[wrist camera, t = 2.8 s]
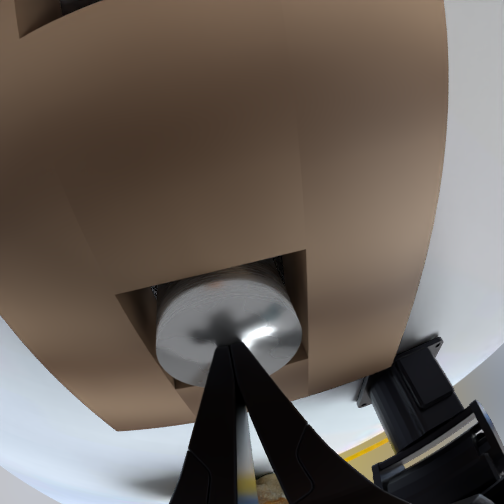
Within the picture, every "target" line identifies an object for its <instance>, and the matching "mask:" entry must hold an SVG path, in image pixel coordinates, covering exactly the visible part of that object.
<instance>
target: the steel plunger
mask: <svg viewBox="0 0 504 504" xmlns="http://www.w3.org/2000/svg"><path fill="white" fill-rule="evenodd" d="M301 340H302V328H301V325H300V322H299V320H298V318H297V315H296V313H295V310H294V308H293V306H292V303H291V301H290V298H289V296H288V294H287V291H286V289H285V287H284V284H283V282H282V280H281V277H280V275H279V272H278V270H277V268H276V265H275V263H274V261H273V258H268V259H263V260H259V261H255V262H251V263H247V264H243V265H239V266H235V267H230V268H226V269H222V270H218V271H214V272H209V273H205V274H201V275H197V276H193V277H188V278H184V279H180V280H176V281H171V282H167V283H163V284H159V285H157V311H156V355H157V358H158V361H159V363H160V365H161V366H162V367H163V369H164V370H165V371H166V372H167V373H168V374H169V375H171V376H172V377H174V378H175V379H177V380H179V381H181V382H184V383H187V384H190V385H194V386H198V387H205V384H206V380H207V376H208V373H209V369H210V365H211V362H212V358H213V355H214V351H215V349H216V347H219V346H223V345H229V346H230V345H231V344H232V343H236V342H241V341H242V342H244V343H245V344H246V346H247V347H248V348H249V350H250V351H251V352H252V354H253V355H254V356H255V358H256V359H257V360H258V361H259V363H260V364H261V365H262V367H263V368H264V369H265V370H266V372H267V373H268V374H269V375H271V374H273V373H274V372H276V371H278V370H279V369H280V368H282V367H283V366H284V365H285V364H287V363H288V362H289V361H290V360H291V358H292V357H293V356H294V355H295V353H296V352H297V350H298V348H299V346H300V343H301Z"/></svg>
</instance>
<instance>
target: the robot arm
mask: <svg viewBox="0 0 504 504" xmlns="http://www.w3.org/2000/svg"><path fill="white" fill-rule="evenodd" d="M442 344H443V340H442V339H441V337H437V338H435V339H433V340H431V341H429V342H427V343H424V344H422V345H420V346H418V347H416V348H413V349H411V350H409V351H406V352H404V353H402V354H399V355H397V356H395V358H394V360H393V363H392V365H391V367H389V368H386V369H384V370H381V371H379V372H376V373H374V374H371V375H369V376H366V377H365V379H364V382H363V385H362V388H361V391H360V394H359V397H358V400H357V406H358V408H362V407H365V406H367V405H370V404H372V405H373V407H374V409H375V411H376V413H377V416H378V418H379V420H380V422H381V424H382V426H383V429H384V431H385V433H386V435H387V437H388V440H389V442H390V444H391V446H392V449H393V451H394V453H395V455H394V456H392V457H390V458H389V459H387V460H385V461H383V462H380V463H377V464H375V465H373V466H372V472H373V480H374V483H372V482H371V481H370V480H368V479H367V478H366V477H364V476H363V475H362V474H361V473H359V472H358V471H357V470H356V469H354V468H353V467H352V466H351V465H350V464H348V463H347V462H346V461H345V460H344V459H342V458H341V457H340V456H339V455H338V454H337V453H336V452H335V451H334V450H333V449H331V448H330V447H329V446H328V445H327V444H326V443H325V441H324V440H323V439H322V438H321V437H320V436H319V435H318V434H317V433H316V432H315V430H314V429H313V428H312V427H311V426H310V425H309V424H308V422H307V421H306V420H305V419H304V418H303V416H302V415H301V414H300V413H299V412H298V410H297V409H296V408H295V407H294V405H293V404H292V403H291V402H290V401H289V399H288V398H287V397H286V396H285V394H284V393H283V392H282V391H281V389H280V388H279V387H278V386H277V384H276V383H275V382H274V381H273V379H272V378H271V377H270V376H269V374H268V373H267V372H266V370H265V369H264V368H263V367H262V365H261V364H260V363H259V361H258V360H257V359H256V358H255V356H254V355H253V354H252V352H251V351H250V350H249V348H248V347H247V346H246V344H245V343H244V342H242V341H241V342H236V343H232V344H231V345H230V346H229V345H223V346H219V347H216V349H215V351H214V355H213V358H212V362H211V365H210V369H209V373H208V376H207V380H206V384H205V387H204V391H203V395H202V398H201V402H200V406H199V409H198V413H197V417H196V420H195V424H194V428H193V431H192V435H191V439H190V443H189V446H188V449H189V450H188V451H187V453H186V457H185V461H184V464H183V468H182V471H181V474H180V477H179V480H178V483H177V485H176V488H175V490H174V493H173V495H172V498H171V500H170V502H169V504H259V503H258V496H257V488H256V480H255V473H254V465H253V457H252V449H251V441H250V433H249V424H248V416H247V410H248V412H249V415H250V417H251V420H252V422H253V424H254V427H255V429H256V432H257V434H258V436H259V439H260V441H261V443H262V446H263V448H264V450H265V453H266V455H267V457H268V460H269V462H270V464H271V466H272V469H273V471H274V473H275V475H276V477H277V480H278V482H279V484H280V486H281V488H282V490H283V493H284V495H285V497H286V499H287V501H288V503H289V504H504V446H503V444H502V442H501V440H500V438H499V435H498V433H497V431H496V429H495V427H494V425H493V423H492V421H491V419H490V418H489V416H488V414H487V413H486V411H485V409H484V407H483V406H482V404H481V403H480V402H478V401H477V400H474V401H473V402H472V403H471V404H469V405H470V406H468V407H467V408H466V409H464V407H463V406H462V404H461V402H460V400H459V399H458V397H457V395H456V393H455V392H454V388H453V386H452V384H451V383H450V381H449V379H448V378H447V376H446V375H445V373H444V371H443V370H442V368H441V367H440V365H439V363H438V362H437V360H436V359H435V357H436V355H437V353H438V351H439V350H440V348H441V346H442ZM246 407H247V409H246ZM474 418H477V420H478V422H477V423H476V424H475V425H474V426H472V427H471V428H469V429H468V430H467V431H465V432H464V433H463V434H461V435H460V436H458V437H457V438H455V439H454V440H452V441H451V442H450V443H448V444H446V445H445V446H443V447H442V448H440V449H439V450H437V451H435V452H434V453H432V454H431V455H429V456H427V457H426V458H424V459H422V460H421V461H419V462H417V463H415V464H414V465H412V466H410V467H408V468H406V469H405V467H404V466H403V464H405V463H407V462H409V461H411V460H412V459H414V458H416V457H418V456H419V455H421V454H423V453H424V452H426V451H427V450H429V449H431V448H433V447H434V446H436V445H437V444H439V443H440V442H442V441H443V440H445V439H446V438H448V437H449V436H451V435H452V434H454V433H455V432H457V431H458V430H459V429H461V428H462V427H464V426H465V425H466V424H468V423H469V422H470V421H472V420H473V419H474Z"/></svg>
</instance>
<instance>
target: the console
mask: <svg viewBox="0 0 504 504" xmlns="http://www.w3.org/2000/svg"><path fill="white" fill-rule="evenodd" d="M447 114H448V44H447V29H446V18H445V9H444V1H443V0H102V1H99V2H97V3H94V4H91V5H89V6H86V7H84V8H81V9H79V10H77V11H74V12H72V13H70V14H67V15H65V16H62V9H61V3H60V0H0V315H1V317H2V318H3V319H4V320H5V322H6V323H7V324H8V325H9V327H10V328H11V329H12V330H13V332H14V333H15V334H16V335H17V336H18V338H19V339H20V340H21V341H22V342H23V343H24V345H25V346H26V347H27V348H28V349H29V350H30V351H31V352H32V354H33V355H34V356H35V357H36V358H37V359H38V360H39V361H40V362H41V363H42V364H43V365H44V366H45V367H46V369H47V370H48V371H49V372H50V373H51V374H52V375H53V376H54V377H55V378H56V379H57V380H58V381H59V382H60V383H61V384H63V385H64V386H65V387H66V388H67V389H68V390H69V391H70V392H71V393H72V394H73V395H74V396H75V397H76V398H78V399H79V400H80V401H81V402H82V403H83V404H84V405H85V406H87V407H88V408H89V409H90V410H91V411H92V412H94V413H95V414H96V415H97V416H98V417H100V418H101V419H102V420H103V421H104V422H106V423H107V424H108V425H109V426H111V427H112V428H113V429H115V430H116V431H130V430H141V429H151V428H159V427H167V426H175V425H182V424H189V423H195V420H196V417H197V413H198V409H199V406H200V402H201V398H202V395H203V391H204V387H198V386H194V385H190V384H187V383H184V382H181V381H179V380H177V379H175V378H174V377H172V376H171V375H169V374H168V373H167V372H166V371H165V370H164V369H163V367H162V366H161V365H160V363H159V361H158V358H157V355H156V311H157V300H156V298H155V296H154V294H153V292H152V290H151V288H150V286H154V285H159V284H163V283H167V282H171V281H176V280H180V279H184V278H188V277H193V276H197V275H201V274H205V273H209V272H214V271H218V270H222V269H226V268H230V267H235V266H239V265H243V264H247V263H251V262H255V261H259V260H263V259H268V258H272V257H276V256H280V255H282V260H283V270H284V280H285V289H286V291H287V294H288V296H289V298H290V301H291V303H292V306H293V308H294V310H295V313H296V315H297V318H298V320H299V322H300V325H301V328H302V340H301V343H300V346H299V348H298V350H297V352H296V353H295V355H294V356H293V357H292V358H291V360H290V361H289V362H288V363H287V364H285V365H284V366H283V367H282V368H280V369H279V370H278V371H276V372H274V373H273V374H271V375H269V376H270V377H271V378H272V379H273V381H274V382H275V383H276V384H277V386H278V387H279V388H280V389H281V391H282V392H283V393H284V394H285V396H286V397H287V398H288V399H289V401H293V400H297V399H300V398H304V397H307V396H310V395H314V394H317V393H320V392H323V391H326V390H329V389H332V388H335V387H338V386H341V385H344V384H347V383H350V382H353V381H355V380H358V379H361V378H363V377H366V376H369V375H371V374H374V373H376V372H379V371H381V370H384V369H386V368H389V367H391V365H392V363H393V360H394V358H395V355H396V353H397V350H398V347H399V345H400V342H401V339H402V336H403V333H404V330H405V328H406V325H407V322H408V319H409V316H410V312H411V309H412V306H413V303H414V300H415V296H416V293H417V290H418V286H419V282H420V279H421V275H422V271H423V268H424V264H425V260H426V256H427V251H428V247H429V243H430V238H431V234H432V229H433V224H434V219H435V214H436V208H437V203H438V197H439V191H440V184H441V177H442V170H443V161H444V152H445V142H446V130H447ZM246 409H247V407H246ZM247 412H248V410H247Z"/></svg>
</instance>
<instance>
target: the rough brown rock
mask: <svg viewBox="0 0 504 504" xmlns="http://www.w3.org/2000/svg"><path fill="white" fill-rule="evenodd" d="M256 488H257V496H258V503H259V504H289V503H288V501H287V499H286V497H285V495H284V493H283V490H282V488H281V486H280V484H279V482H278V480H277V477H276V475H275V473H271V474H268V475H265V476H263V477H261V478H259V479H258V480H256Z"/></svg>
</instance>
